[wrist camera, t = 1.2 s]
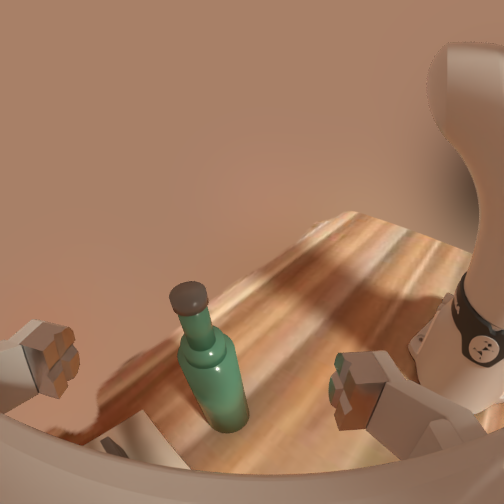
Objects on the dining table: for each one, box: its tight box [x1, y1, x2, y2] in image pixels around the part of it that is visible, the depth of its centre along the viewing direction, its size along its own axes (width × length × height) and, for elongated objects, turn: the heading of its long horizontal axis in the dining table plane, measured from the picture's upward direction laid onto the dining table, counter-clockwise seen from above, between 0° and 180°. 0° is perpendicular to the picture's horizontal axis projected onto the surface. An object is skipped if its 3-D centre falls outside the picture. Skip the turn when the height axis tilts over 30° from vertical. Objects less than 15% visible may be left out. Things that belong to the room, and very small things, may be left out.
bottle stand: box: [83, 409, 191, 470], centre depth 22 cm, size 20×14×5 cm
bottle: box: [169, 281, 249, 433], centre depth 28 cm, size 5×5×20 cm
